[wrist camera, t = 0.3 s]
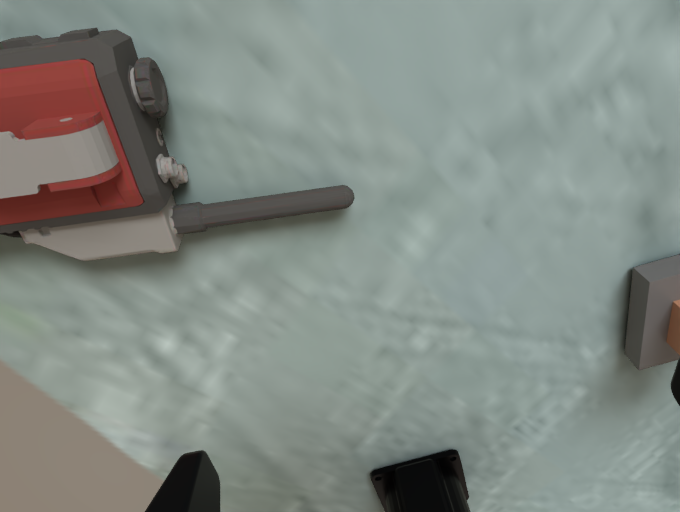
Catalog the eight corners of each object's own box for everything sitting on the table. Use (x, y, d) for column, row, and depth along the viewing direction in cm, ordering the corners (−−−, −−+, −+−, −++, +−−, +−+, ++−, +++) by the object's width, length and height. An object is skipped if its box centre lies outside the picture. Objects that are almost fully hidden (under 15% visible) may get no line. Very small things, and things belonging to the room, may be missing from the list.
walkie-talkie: (-73, 263, 22) (352, 203, 22) (-146, 327, 18) (366, 253, 19) (-216, 64, 17) (331, -5, 17) (-357, 94, 13) (345, 5, 14)
